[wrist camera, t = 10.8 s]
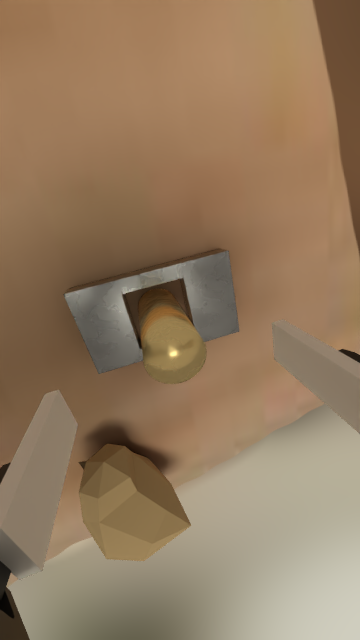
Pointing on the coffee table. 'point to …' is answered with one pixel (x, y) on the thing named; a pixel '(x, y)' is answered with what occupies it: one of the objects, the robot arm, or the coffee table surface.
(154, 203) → the coffee table surface
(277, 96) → the coffee table surface
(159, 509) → the faceted tan rock
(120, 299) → the metal plate with hole
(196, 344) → the gold peg
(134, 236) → the coffee table surface
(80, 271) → the coffee table surface
